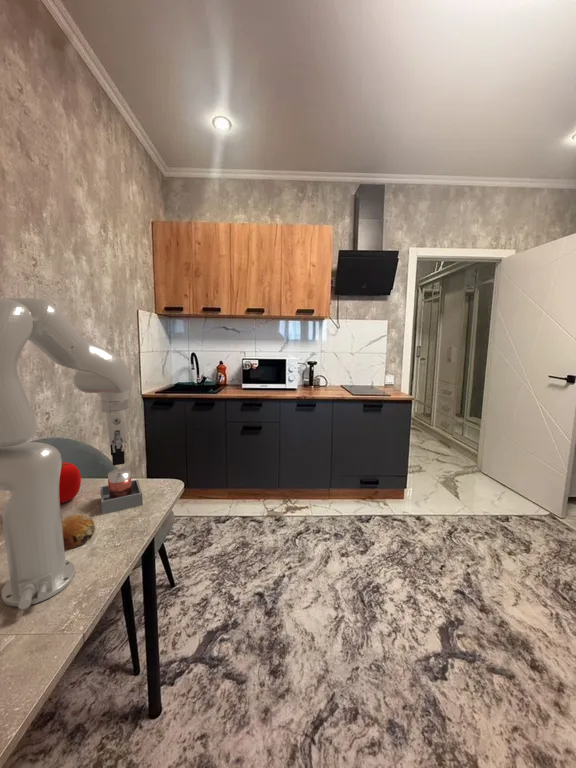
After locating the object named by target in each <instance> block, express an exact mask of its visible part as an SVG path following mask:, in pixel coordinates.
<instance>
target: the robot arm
mask: <svg viewBox="0 0 576 768" xmlns="http://www.w3.org/2000/svg"><path fill="white" fill-rule="evenodd" d="M28 341H30V342H31V343H32V344H33V345H34V346H35V347H37V348H38V349H39V350H40V351H42V353H44V354H45V355H46V356H47V357H48V358H50V360H51V361H52V362H54V363H55V364H57V365H59V366H62V367H66V368H69V369H71V370H77V371H76V372H75V374H74V376H73V384H74V386H75V388H76V389H78V390H79V391H80V392H83V393H86V394H100V395H99V396H100V412H101V413H105V419H106V431H107V438H108V441H109V444H110V445H109V446H110V455H111V457H112V466H119V465H124V464H125V463H126V461H125V450H124V443H125V444H127V443H128V440H129V439H128V425H127V416H126V415H127V414H126V411H129V409H130V408H129V406H130V404H129V390H130V389H131V387H132V384H133V377H132V376H133V375H132V373H131V371H130V369H129V367H128V366H127V364H125V362H124V361H123V360H122V359H121V358H120V356H119V355H117V354H115V353H114V352H112V351H111V350H108V349H106V348H105V347H102V346H100V345H99V344H96V343H94V342H92V341H89V340H87V339H86V338H84V337H83V336H82V334H81V333H80V332H79V331H78V330H77V328H75V327H74V325H73V324H72V323H71V322H70V321H69V320H68V319H67V318H66V316H65V315H64V314H63V313H62V312H61V311H60V309H59V308H58V307H57V306H56V305H54V304H53V303H52V302H50V301H47V300H46V299H45V300H44V299H41V298H31V297H29V298H27V297H25V298H24V297H23V298H22V297H19V298H18V297H0V491H7V492H10V494H11V495H10V498H9V499H8V500H7V503H6V504H5V506H4V507H3V510H2V513H1V515H2V516H1V517H2V518H1V519H2V520H1V521H2V527H3V534H4V535H3V536H4V542H5V550H6V551H5V552H6V558H7V567H8V574H9V579H8V580H7V582H6V583H5V585H4V586H3V588H2V589H1V599H2V602H3V603H4V604H5V605H7V606H10V607H18V608H19V609H20V610H26V609H28V608H29V607H30V606H31V605H35V604H37V603H41V602H43V601H46V600H48V599H50V598H52V597H53V596H56V595H57V594H59V593H60V592H62V590H64V589H65V588H66V587H67V586H68V585H69V584H70V583H71V582H72V580H73V579H74V577H75V574H76V568H75V565H74V563H73V562H71V560H67V559H66V552H65V549H64V541H63V531H62V521H61V519H62V511H61V503H60V499H59V481H60V473H61V466H62V463H63V460H62V459H63V458H62V455H61V452H60V451H59V449H57V448H56V447H55V446H53V445H51V444H48V443H43V442H40V441H39V442H36V441H30V440H31V439H32V438H33V437H34V435H35V434H36V431H37V420H36V418H35V414H34V411H33V409H32V405H31V403H30V402H29V399H28V396H27V394H26V391H25V390H24V387H23V385H22V383H21V382H22V381H21V380H20V377H19V373H18V363H19V359H20V357H21V353H22V351H23V349H24V348H25V345H26V343H27V342H28Z"/></svg>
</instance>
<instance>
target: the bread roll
mask: <svg viewBox="0 0 576 768" xmlns="http://www.w3.org/2000/svg"><path fill="white" fill-rule="evenodd" d="M61 521H62V531H63V541H64V550H71V549H74V548H77V547H79V546H82V545H84V544H86V543H87V541H88V542H89V541H90V540H91V538H92V537H93V536H94V534H95V530H96V526H95V522H94V520H93V519H92V517H91V516H90V515H87V514H85V513H74V514H70V515H68V516H67V515H66V516H65V517H63V518H61Z"/></svg>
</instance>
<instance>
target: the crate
mask: <svg viewBox="0 0 576 768" xmlns="http://www.w3.org/2000/svg"><path fill="white" fill-rule="evenodd" d="M131 484H132V495H128V496H123V497H119V498H114V499H110V497H109V486H108V484H107V485H102V486H100V487H99V488H100V501H101V503H100V505H101V513H102V515H106V514H110V513H115V512H119V511H123V510H128V509H133V508H136V506H137V507H140V506H143V505H144V504H143V503H144V501H143V491H142V488H141V486H140V482H139V479H133V480H131ZM132 507H133V508H132Z"/></svg>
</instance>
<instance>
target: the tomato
mask: <svg viewBox="0 0 576 768" xmlns="http://www.w3.org/2000/svg"><path fill="white" fill-rule="evenodd" d="M81 483H82V475H81V471H80V470H79V469H78V467H77V466H76V465H75V464H73V463H72V462H62V466H61V473H60V481H59V499H60V504H63V503H66V502H69V501H72V499H74V498H75V497H76V496H77V494H78V493H79V491H80V489H81Z"/></svg>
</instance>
